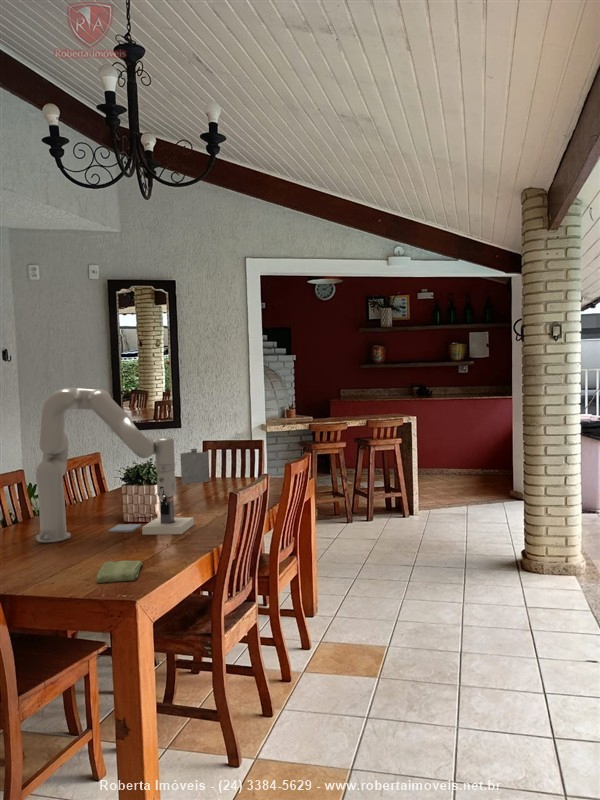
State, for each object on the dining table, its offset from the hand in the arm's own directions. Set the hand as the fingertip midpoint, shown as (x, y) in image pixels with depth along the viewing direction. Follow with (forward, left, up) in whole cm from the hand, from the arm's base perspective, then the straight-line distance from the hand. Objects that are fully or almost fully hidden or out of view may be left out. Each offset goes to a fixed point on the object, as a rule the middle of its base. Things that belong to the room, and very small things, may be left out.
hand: (167, 512), depth 268 cm
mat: (+1, +19, -7) cm, 20 cm away
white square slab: (0, 0, -7) cm, 7 cm away
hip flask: (+110, +23, -7) cm, 113 cm away
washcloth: (-58, -5, -8) cm, 59 cm away
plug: (0, 0, -5) cm, 5 cm away
